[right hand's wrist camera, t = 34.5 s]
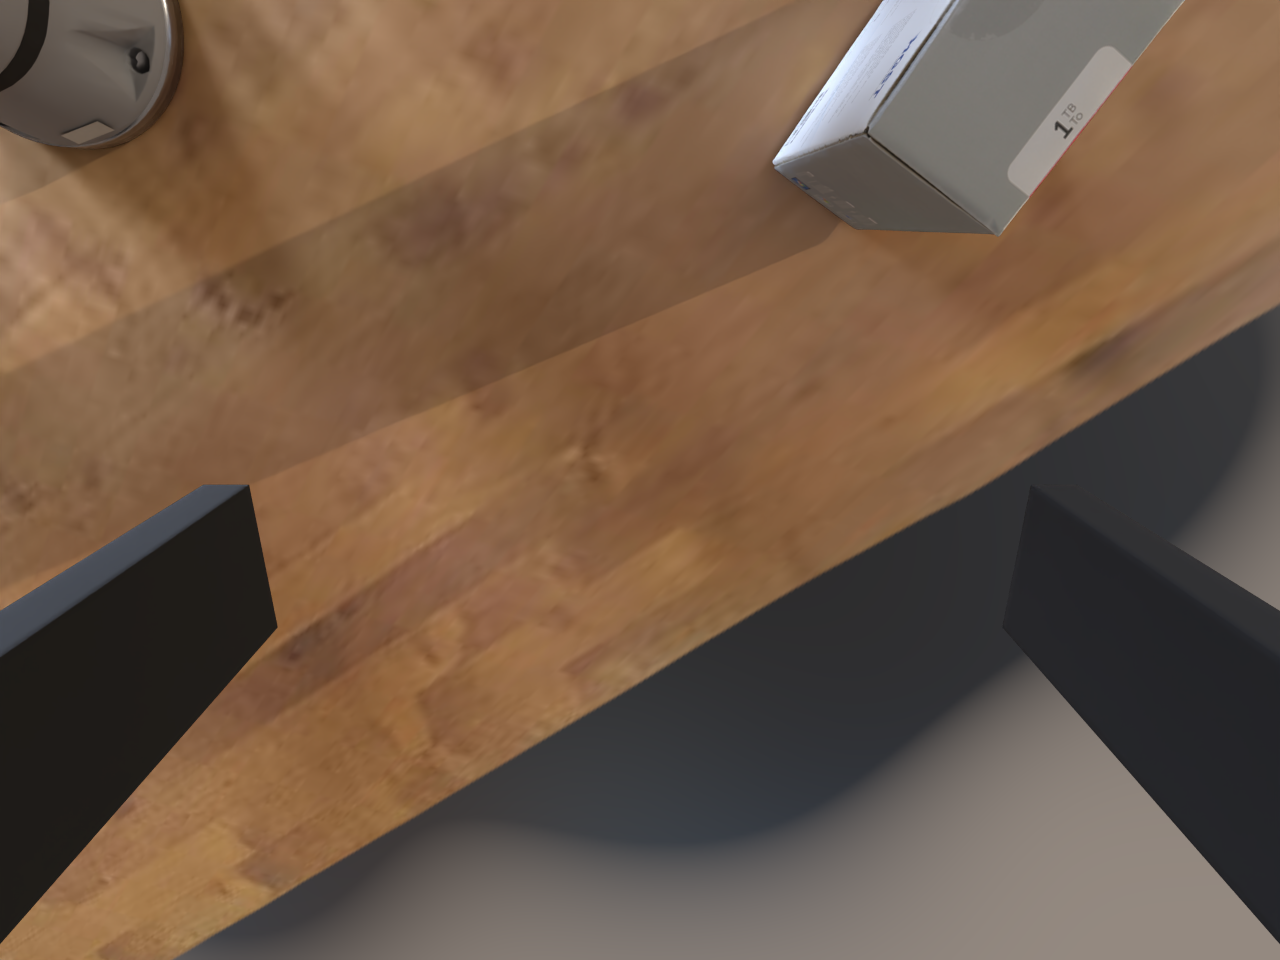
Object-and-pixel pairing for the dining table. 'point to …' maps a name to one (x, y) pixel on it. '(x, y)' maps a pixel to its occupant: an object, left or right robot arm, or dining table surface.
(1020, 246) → the dining table surface
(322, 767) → the dining table surface
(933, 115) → the hard drive box
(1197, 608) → the right robot arm
